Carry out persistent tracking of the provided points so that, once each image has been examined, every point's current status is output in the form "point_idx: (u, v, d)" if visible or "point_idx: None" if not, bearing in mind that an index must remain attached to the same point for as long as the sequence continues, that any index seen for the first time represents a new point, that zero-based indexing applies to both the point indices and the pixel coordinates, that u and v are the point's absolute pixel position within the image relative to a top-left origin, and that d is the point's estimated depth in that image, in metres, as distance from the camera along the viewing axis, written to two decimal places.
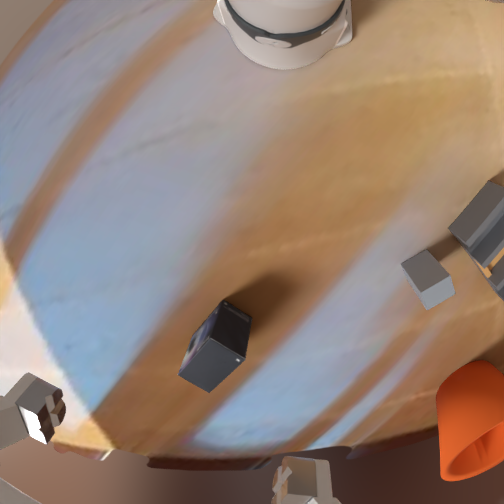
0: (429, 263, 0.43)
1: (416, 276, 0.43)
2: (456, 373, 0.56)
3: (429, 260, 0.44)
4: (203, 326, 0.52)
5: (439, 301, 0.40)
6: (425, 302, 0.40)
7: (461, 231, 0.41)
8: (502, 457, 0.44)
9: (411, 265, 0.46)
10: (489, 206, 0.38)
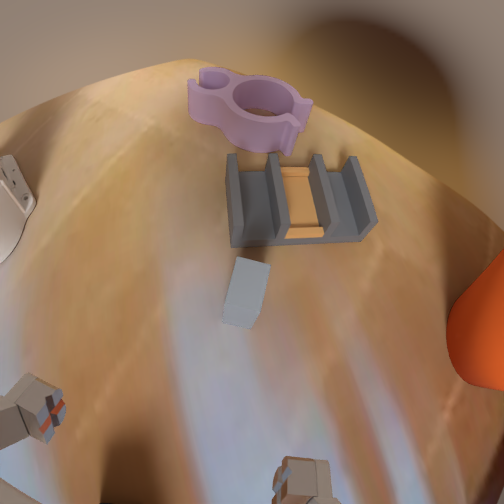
0: None
1: None
2: (449, 341, 0.40)
3: None
4: None
5: (262, 289, 0.32)
6: (245, 306, 0.31)
7: (231, 229, 0.40)
8: None
9: None
10: (228, 183, 0.42)
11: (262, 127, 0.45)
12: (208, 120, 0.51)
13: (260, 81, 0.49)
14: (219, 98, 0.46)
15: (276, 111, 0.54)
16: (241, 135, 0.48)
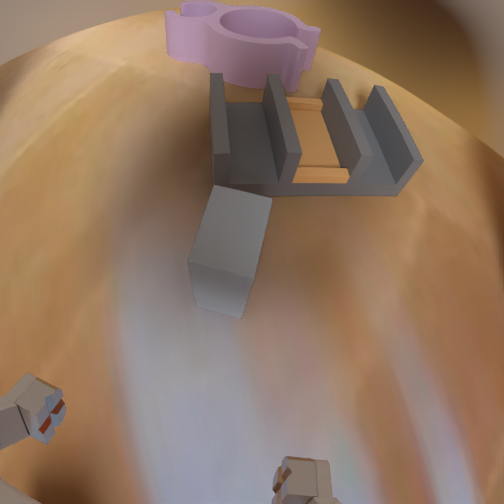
0: None
1: None
2: None
3: None
4: None
5: (257, 238, 0.17)
6: (226, 267, 0.17)
7: None
8: None
9: None
10: None
11: (259, 51, 0.31)
12: (189, 56, 0.37)
13: (255, 12, 0.35)
14: (203, 24, 0.32)
15: None
16: (231, 65, 0.34)
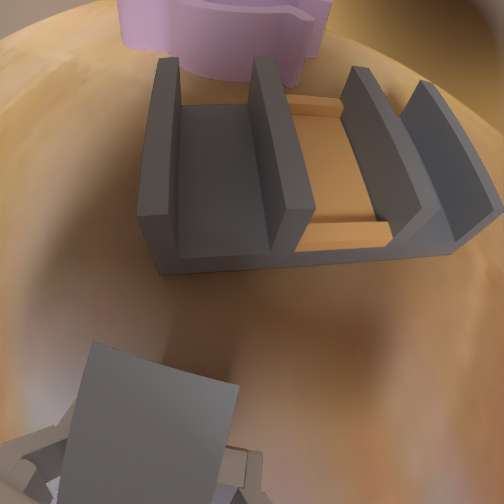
0: None
1: None
2: None
3: None
4: None
5: (198, 494, 0.05)
6: None
7: None
8: None
9: None
10: None
11: (239, 24, 0.19)
12: (148, 41, 0.25)
13: None
14: None
15: None
16: (200, 48, 0.22)
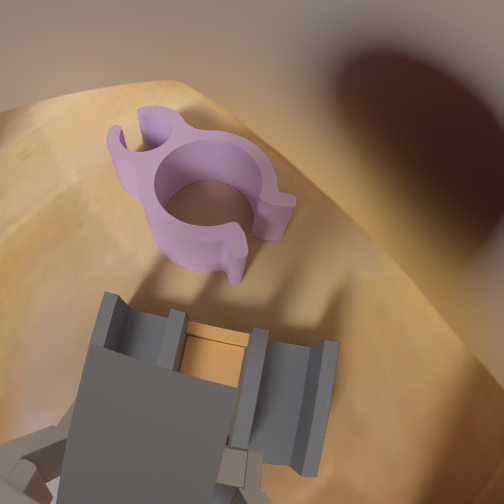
0: None
1: None
2: None
3: None
4: None
5: (197, 496, 0.05)
6: None
7: None
8: None
9: None
10: None
11: (182, 243, 0.27)
12: (134, 194, 0.34)
13: (222, 144, 0.31)
14: (136, 171, 0.28)
15: (247, 194, 0.35)
16: (158, 240, 0.30)
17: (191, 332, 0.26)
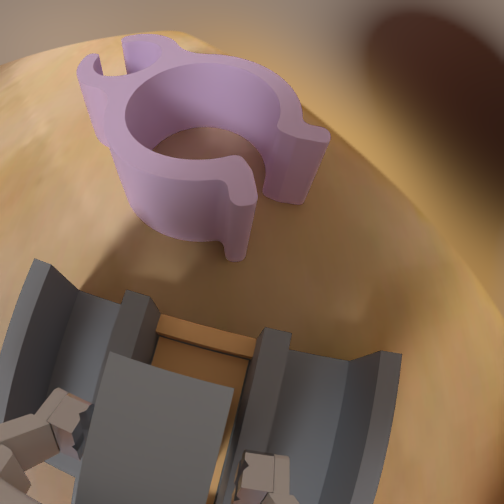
0: None
1: None
2: None
3: None
4: None
5: (199, 480, 0.07)
6: None
7: None
8: None
9: None
10: None
11: (155, 187, 0.17)
12: None
13: (226, 70, 0.21)
14: (107, 97, 0.19)
15: (258, 143, 0.25)
16: (128, 191, 0.20)
17: (163, 332, 0.16)
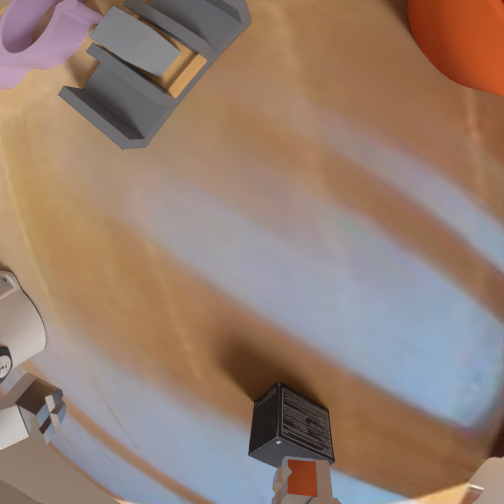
0: None
1: None
2: (429, 57, 0.28)
3: None
4: None
5: (130, 19, 0.20)
6: (137, 40, 0.21)
7: None
8: None
9: None
10: None
11: (52, 40, 0.26)
12: (18, 77, 0.31)
13: (15, 6, 0.23)
14: (1, 65, 0.26)
15: None
16: (48, 60, 0.29)
17: None
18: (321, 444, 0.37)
